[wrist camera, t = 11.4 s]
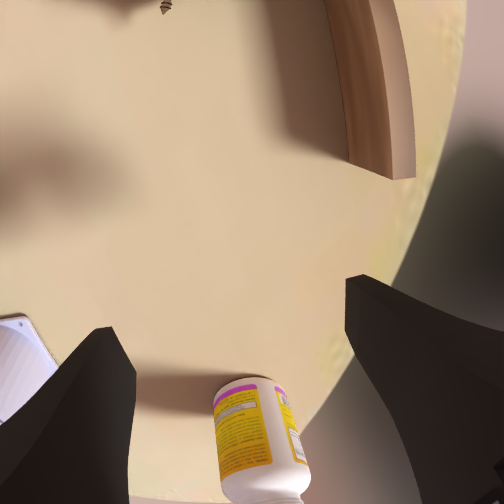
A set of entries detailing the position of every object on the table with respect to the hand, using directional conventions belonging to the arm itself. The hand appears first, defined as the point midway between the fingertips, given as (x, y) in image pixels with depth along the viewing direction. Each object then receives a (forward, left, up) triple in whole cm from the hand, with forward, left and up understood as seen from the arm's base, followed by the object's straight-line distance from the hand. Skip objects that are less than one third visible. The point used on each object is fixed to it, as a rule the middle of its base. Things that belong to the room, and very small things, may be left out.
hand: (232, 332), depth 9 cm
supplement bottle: (-1, -17, -11) cm, 20 cm away
